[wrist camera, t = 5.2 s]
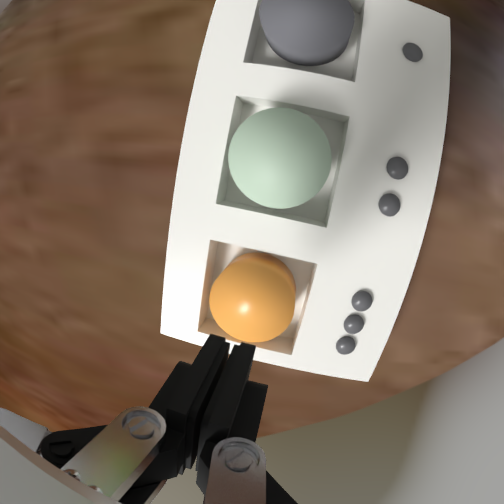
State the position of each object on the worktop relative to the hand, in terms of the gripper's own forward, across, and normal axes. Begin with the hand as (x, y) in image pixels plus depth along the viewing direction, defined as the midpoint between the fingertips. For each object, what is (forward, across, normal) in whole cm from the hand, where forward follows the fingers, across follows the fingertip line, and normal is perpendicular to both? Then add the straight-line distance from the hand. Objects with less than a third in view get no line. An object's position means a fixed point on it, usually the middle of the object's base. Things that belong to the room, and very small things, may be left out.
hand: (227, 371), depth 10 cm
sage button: (+8, 0, -8) cm, 11 cm away
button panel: (+10, -1, -8) cm, 13 cm away
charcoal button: (+8, 0, -16) cm, 18 cm away
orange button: (+9, 0, 0) cm, 9 cm away
